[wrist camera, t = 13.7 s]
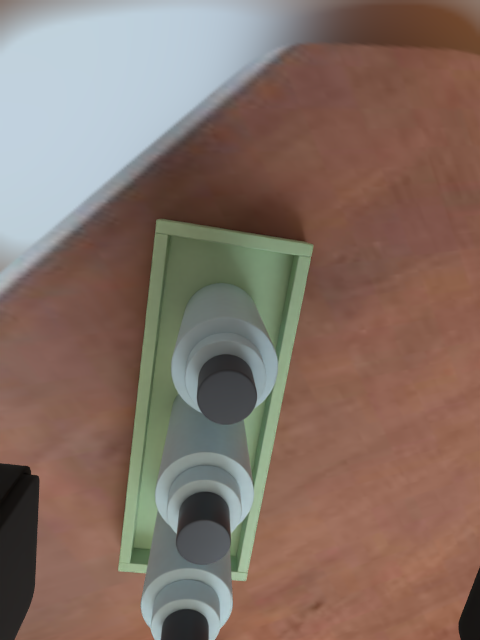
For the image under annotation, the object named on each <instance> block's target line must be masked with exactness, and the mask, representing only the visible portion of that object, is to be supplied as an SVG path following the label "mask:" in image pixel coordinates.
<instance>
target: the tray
mask: <svg viewBox="0 0 480 640" xmlns="http://www.w3.org/2000/svg"><path fill="white" fill-rule="evenodd" d="M312 250H313V244H310V243H307V242H304V241H297V240H291V239H285V238H279V237H273V236H266V235H260V234H254V233H248V232H242V231H236V230H229V229H223V228H217V227H211V226H205V225H198V224H192V223H186V222H180V221H174V220H167V219H157V220H156V229H155V238H154V247H153V256H152V265H151V275H150V284H149V293H148V302H147V311H146V320H145V329H144V339H143V348H142V357H141V366H140V375H139V384H138V393H137V403H136V412H135V421H134V430H133V439H132V448H131V458H130V467H129V476H128V485H127V494H126V503H125V512H124V522H123V531H122V540H121V549H120V558H119V567H118V571H123V572H136V573H146V571H147V566H148V560H149V555H150V549H151V544H152V538H153V533H154V527H155V522H156V516H157V511H158V509H157V506H156V502H155V489H156V484H157V479H158V474H159V469H160V464H161V459H162V455H163V450H164V445H165V440H166V435H167V430H168V425H169V420H170V415H171V410H172V405H173V402H174V400H175V398H176V396H177V395H178V394H179V393H178V392H177V390H176V388H175V386H174V383H173V380H172V375H171V361H172V356H173V352H174V348H175V345H176V341H177V337H178V334H179V330H180V326H181V322H182V319H183V315H184V311H185V308H186V305H187V303H188V302H189V300H190V299H191V297H192V296H193V295H194V294H195V293H196V292H197V291H198V290H200V289H202V288H203V287H205V286H208V285H211V284H215V283H227V284H232V285H235V286H237V287H239V288H241V289H243V290H244V291H245V292H246V293H248V294H249V296H250V297H251V298H252V299H253V301H254V303H255V305H256V307H257V309H258V312H259V314H260V316H261V318H262V321H263V323H264V325H265V328H266V330H267V332H268V335H269V337H270V339H271V341H272V344H273V346H274V348H275V351H276V354H277V359H278V374H277V378H276V382H275V384H274V387H273V389H272V390H271V392H270V394H269V395H268V396H267V398H266V399H265V400H264V401H263V402H262V403H261V404H260V405H258V406H257V407H256V408H254V410H253V411H252V412H251V414H250V415H249V416H248V417H247V418H245V419H244V425H245V432H246V438H247V445H248V452H249V459H250V466H251V473H252V480H253V487H254V499H253V504H252V507H251V509H250V511H249V513H248V514H247V516H246V517H245V519H244V520H243V521H242V522H241V523H240V524H239V525H237V527H236V528H235V529H234V531H233V532H232V533H231V545H230V558H231V578H232V580H238V581H246V578H247V573H248V568H249V563H250V558H251V553H252V548H253V543H254V538H255V533H256V528H257V523H258V518H259V513H260V508H261V503H262V498H263V494H264V489H265V484H266V479H267V474H268V469H269V464H270V459H271V454H272V449H273V444H274V439H275V434H276V429H277V424H278V419H279V414H280V409H281V404H282V399H283V394H284V389H285V384H286V379H287V374H288V369H289V364H290V360H291V355H292V350H293V345H294V340H295V335H296V330H297V325H298V320H299V315H300V310H301V305H302V300H303V295H304V290H305V285H306V280H307V275H308V270H309V265H310V260H311V258H310V257H311V255H312Z"/></svg>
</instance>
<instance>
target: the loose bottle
mask: <svg viewBox="0 0 480 640" xmlns="http://www.w3.org/2000/svg"><path fill="white" fill-rule="evenodd" d="M277 374H278V359H277V354H276V351H275V348H274V346H273V344H272V341H271V339H270V337H269V335H268V332H267V330H266V328H265V325H264V323H263V321H262V318H261V316H260V314H259V312H258V309H257V307H256V305H255V303H254V301H253V299H252V298H251V297H250V296H249V294H248V293H246V292H245V291H244V290H243V289H241V288H239V287H237V286H235V285H232V284H227V283H215V284H211V285H208V286H205V287H203V288H202V289H200V290H198V291H197V292H196V293H195V294H194V295H193V296H192V297H191V299H190V300H189V302H188V303H187V305H186V308H185V311H184V315H183V319H182V322H181V326H180V330H179V334H178V337H177V341H176V345H175V348H174V352H173V356H172V361H171V375H172V380H173V383H174V386H175V388H176V390H177V392H178V393H179V395H180V396H181V398H182V399H183V400H184V401H185V402H186V403H187V404H188V405H190V406H191V407H192V408H194V409H195V410H197V411H199V412H201V413H202V414H203V415H204V416H205V417H206V418H208V419H209V420H211V421H212V422H215V423H218V424H222V425H231V424H235V423H238V422H241V421H242V420H244V419H245V418H247V417H248V416H249V415H250V414H251V412H252V411H253V410H254V408H256V407H257V406H258V405H260V404H261V403H262V402H263V401H264V400H265V399H266V398H267V396H268V395H269V394H270V392H271V390H272V389H273V387H274V384H275V382H276V378H277Z"/></svg>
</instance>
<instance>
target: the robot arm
mask: <svg viewBox="0 0 480 640" xmlns="http://www.w3.org/2000/svg"><path fill="white" fill-rule="evenodd" d="M38 503H39V476H37V475H31V470H30V467H28V466H21V465H11V464H2V463H0V640H14V639H15V637H16V635H17V633H18V631H19V628H20V626H21V624H22V622H23V620H24V618H25V616H26V613H27V611H28V609H29V606H30V604H31V601H32V597H33V593H34V588H35V570H36V548H37V525H38ZM459 634H460V638H461V640H480V568H479V571H478V573H477V576H476V578H475V581H474V584H473V586H472V589H471V591H470V594H469V596H468V599H467V602H466V604H465V607H464V609H463V612H462V615H461V617H460V620H459Z"/></svg>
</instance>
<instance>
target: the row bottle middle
mask: <svg viewBox="0 0 480 640" xmlns="http://www.w3.org/2000/svg"><path fill="white" fill-rule="evenodd" d="M253 499H254V487H253V480H252V473H251V466H250V459H249V452H248V445H247V438H246V432H245V425H244V420H242V421H241V422H238V423H235V424H231V425H222V424H218V423H215V422H212V421H211V420H209V419H208V418H206V417H205V416H204V415H203V414H202V413H201V412H199V411H197V410H195V409H194V408H192V407H191V406H190V405H188V404H187V403H186V402H185V401H184V400H183V399H182V398H181V396H180V395H179V394H178V395H177V396H176V398H175V400H174V402H173V405H172V410H171V415H170V420H169V425H168V430H167V435H166V440H165V445H164V450H163V455H162V459H161V464H160V469H159V474H158V479H157V484H156V489H155V502H156V506H157V509H158V511H159V513H160V515H161V516H162V518H163V519H164V520H165V522H166V523H167V524H169V525H170V526H171V528H172V529H173V530H174V532H175V533H176V534H177V535H176V547H177V550H178V552H179V554H180V555H181V556H182V557H183V558H184V559H185V560H186V561H188V562H190V563H193V564H197V565H208V564H212V563H215V562H217V561H219V560H220V559H222V558H223V557H224V556H225V555H226V554H227V552H228V550H229V548H230V545H231V533H232V532H233V531H234V529H235V528H236V527H237V525H239V524H240V523H241V522H242V521H243V520H244V519H245V517H246V516H247V514H248V513H249V511H250V509H251V507H252V504H253Z"/></svg>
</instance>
